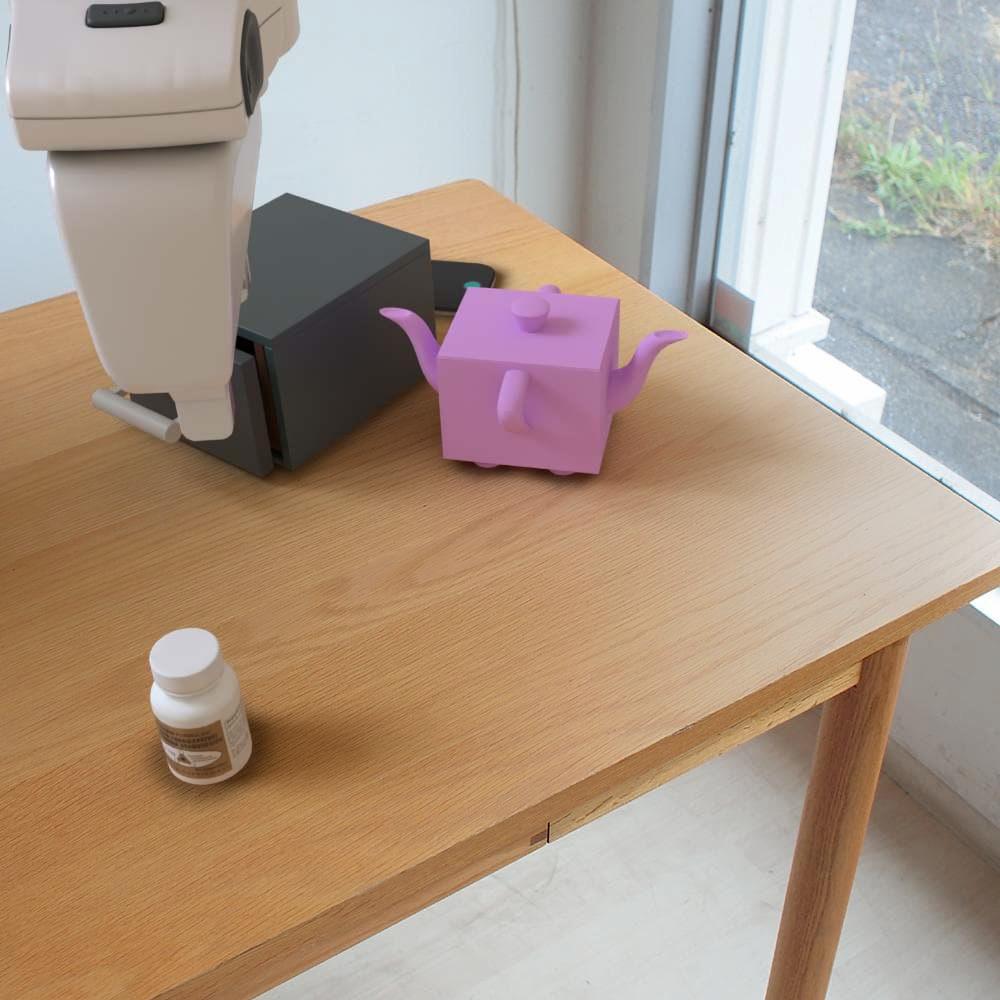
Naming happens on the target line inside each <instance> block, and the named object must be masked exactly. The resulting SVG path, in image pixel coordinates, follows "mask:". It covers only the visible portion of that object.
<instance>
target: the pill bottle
mask: <svg viewBox="0 0 1000 1000" xmlns="http://www.w3.org/2000/svg"><path fill="white" fill-rule="evenodd" d="M149 666H150V670H151V674H152V679H153V680H154V681H153V683H152V685H151V689H150V695H149V700H150V706H151V710H152V714H153V718H154V720H155V724H156V727H157V730H158V733H159V737H160V740H161V744H162V745H161V746H162V747H163V752H164V755H165V758H166V762H167V765H168V767H169V769H170V771H171V773H172V775H174V776H175V778H177V779H178V780H181V781H182V782H185V783H187V784H190V785H191V784H192V785H200V786H203V785H205V786H206V785H212V784H217V783H220V782H223V781H225V780H228V779H230V778H231V777H233V776H235V775H236V774H237V773H239V772H240V771H241V770H242V769H243V768H244V767H245V765H246V764H247V763H248V761H249V759H250V757H251V755H252V751H253V741H252V735H251V731H250V727H249V722H248V717H247V713H246V708H245V703H244V700H243V695H242V691H241V686H240V682H239V678H238V676H237V674H236V672H235V670H234V669H233V667H232V666H231V665H230V664H228V663H227V662H226V661H225V658H224V654H223V651H222V648H221V644H220V641H219V639H218V638H217V636H216V635H214V633H212V632H210V631H208V630H206V629H203V628H199V627H186V628H181V629H177V630H173V631H171V632H169V633H167V634H165V635H163V636H162V637H161V638H160V639H158V640H157V641H156V643H155V644H153V646H152V648H151V650H150V652H149Z"/></svg>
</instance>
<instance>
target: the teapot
mask: <svg viewBox="0 0 1000 1000" xmlns="http://www.w3.org/2000/svg"><path fill="white" fill-rule="evenodd" d="M379 312H380V313H381V314H382V315H383V316H385V317H387V318H389V319H391V320H392V321H394V322H395V323H397V324H398V325H399V326H400V327H402V328H403V329H404V330H405V332H406V333H407V335H408V336H409V338H410V340H411V342H412V344H413V346H414V349H415V352H416V355H417V358H418V361H419V364H420V366H421V369H422V371H423V374H424V376H423V377H425V380H426V381H427V383H428V384H429V385H430V386H431V387H432V389H433V390H434V391H436V392H437V393H438V404H439V417H440V431H441V432H440V433H441V445H442V459H443V460H444V459H446V460H454V461H463V462H464V461H465V462H474V464H475V465H476V466H479V467H480V468H485V469H486V468H488V469H489V468H495V467H498V466H500V465H503V466H504V465H505V466H513V467H523V468H535V469H543V470H549V472H550V473H553V474H554V475H557V476H569V475H572V474H574V473H583V474H593V475H594V474H595V475H599V474H600V470H601V466H602V463H603V458H604V453H605V450H606V446H607V442H608V439H609V434H610V429H611V425H612V421H613V418H614V414H615V413H618V412H621V411H622V410H624V409H625V408H627V407H629V406H630V404H632V403H633V402H634V401H635V400H636V398H637V397H638V396H639V394H640V393H641V391H642V388H643V387H644V385H645V383H646V380H647V377H648V375H649V372H650V370H651V367H652V366H653V363H654V362H655V359H656V358H657V356H658V355H659V354H660V353H661V351H663V350H664V349H665V348H667V347H668V346H670V345H673V344H675V343H677V342H681V341H683V340H685V339H687V338H688V337H689V334H688V333H687V332H685V331H683V330H676V329H661V330H657V331H653V332H651V333H649V334H648V335H645V337H643V338H642V339H641V341H640V342H638V343H639V344H637V346H636V349H635V351H634V353H633V354H632V355H633V356H632V357H631V359H630V361H629V362H628V363H627V364H626V365H624V366H622V367H620V368H619V354H620V351H619V350H620V323H621V321H620V319H621V299H620V298H618V297H610V296H609V297H607V296H599V295H598V296H597V295H587V294H586V295H584V294H583V295H582V294H571V293H562V291H561V289H560V287H558V286H557V285H554V284H545V285H543V286H540V287H539V288H538V289H537V291H535V290H534V291H533V290H521V289H506V288H494V287H493V288H480V287H468V288H467V291H466V293H465V295H464V297H463V299H462V302H461V304H460V306H459V308H458V310H457V313H456V315H455V317H453V319H452V321H451V324H450V326H449V329H448V330H447V332H446V334H445V337H444V339H443V341H442V343H441V345H440V344H439V343H438V340H437V341H436V340H435V338H434V337H433V335H432V333H431V331H430V329H429V328H428V326H427V325H426V323H425V322H424V321H423V320H422V319H421V318H420V317H419V316H418V315H417V314H415V313H413V312H412V311H409V310H406V309H401V308H383V309H380V310H379Z"/></svg>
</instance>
